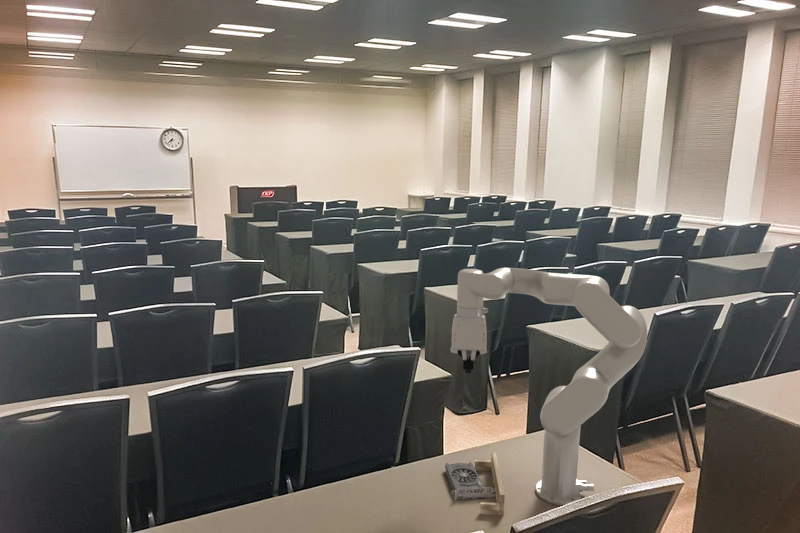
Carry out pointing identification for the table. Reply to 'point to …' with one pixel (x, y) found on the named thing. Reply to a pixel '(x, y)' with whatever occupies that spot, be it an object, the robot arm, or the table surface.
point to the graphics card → (466, 482)
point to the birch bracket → (499, 492)
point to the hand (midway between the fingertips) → (468, 371)
